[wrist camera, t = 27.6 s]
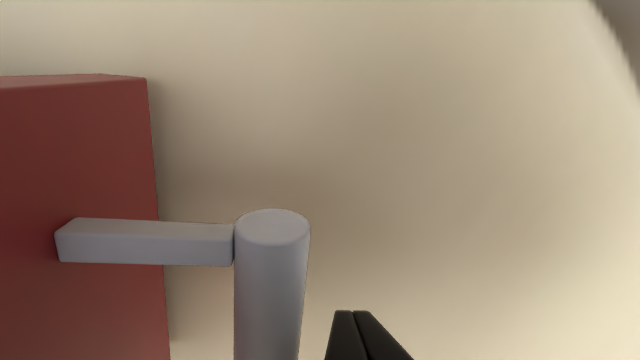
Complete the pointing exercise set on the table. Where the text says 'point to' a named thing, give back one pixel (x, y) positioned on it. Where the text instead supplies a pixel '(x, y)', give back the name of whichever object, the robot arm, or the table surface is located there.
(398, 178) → the table surface
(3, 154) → the pod drawer
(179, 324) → the table surface
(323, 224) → the table surface
